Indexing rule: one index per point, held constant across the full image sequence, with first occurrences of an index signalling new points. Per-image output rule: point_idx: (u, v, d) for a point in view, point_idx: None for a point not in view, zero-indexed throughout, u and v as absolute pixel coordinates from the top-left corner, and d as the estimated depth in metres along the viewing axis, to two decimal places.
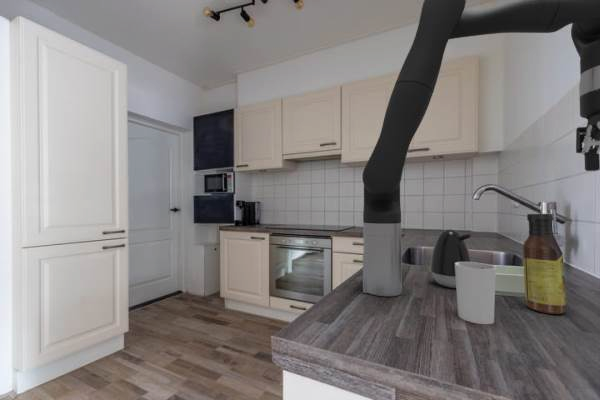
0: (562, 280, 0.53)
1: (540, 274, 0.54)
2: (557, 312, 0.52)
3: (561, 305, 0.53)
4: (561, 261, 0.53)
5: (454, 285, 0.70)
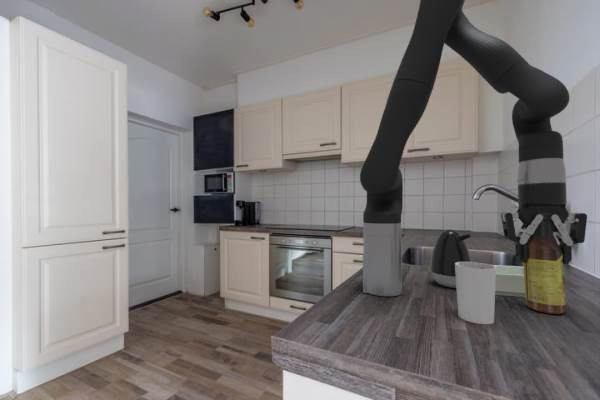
0: (562, 280, 0.53)
1: (540, 274, 0.54)
2: (557, 312, 0.53)
3: (561, 305, 0.53)
4: (561, 261, 0.53)
5: (454, 285, 0.70)
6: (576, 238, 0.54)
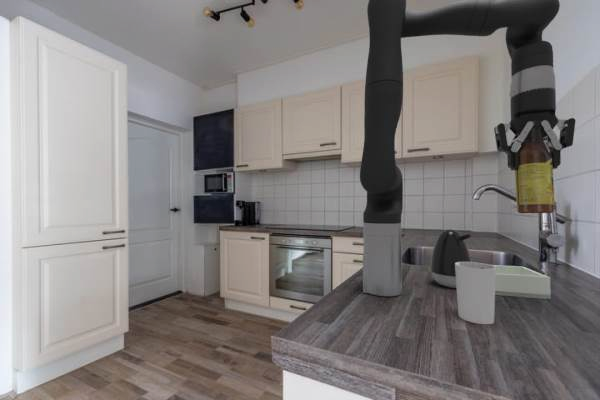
0: (551, 181, 0.56)
1: (530, 176, 0.57)
2: (546, 210, 0.55)
3: (550, 204, 0.55)
4: (550, 163, 0.56)
5: (454, 285, 0.70)
6: (565, 142, 0.56)
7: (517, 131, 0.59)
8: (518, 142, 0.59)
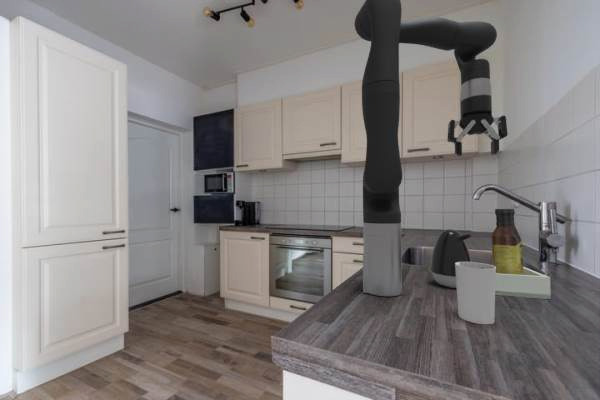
0: (520, 261, 0.67)
1: (503, 256, 0.68)
2: None
3: None
4: (520, 246, 0.67)
5: (454, 285, 0.70)
6: (502, 134, 0.74)
7: (463, 126, 0.77)
8: (462, 135, 0.77)
